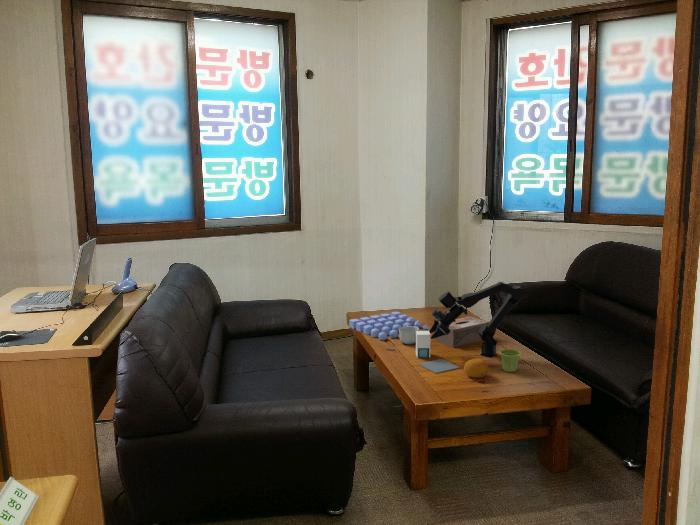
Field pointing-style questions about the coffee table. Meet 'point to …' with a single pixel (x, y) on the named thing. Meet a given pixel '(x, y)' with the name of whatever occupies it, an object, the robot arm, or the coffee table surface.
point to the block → (422, 352)
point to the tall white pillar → (422, 341)
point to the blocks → (384, 324)
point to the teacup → (408, 334)
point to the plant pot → (510, 359)
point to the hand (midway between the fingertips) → (430, 335)
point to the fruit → (476, 368)
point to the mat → (439, 366)
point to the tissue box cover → (462, 332)
